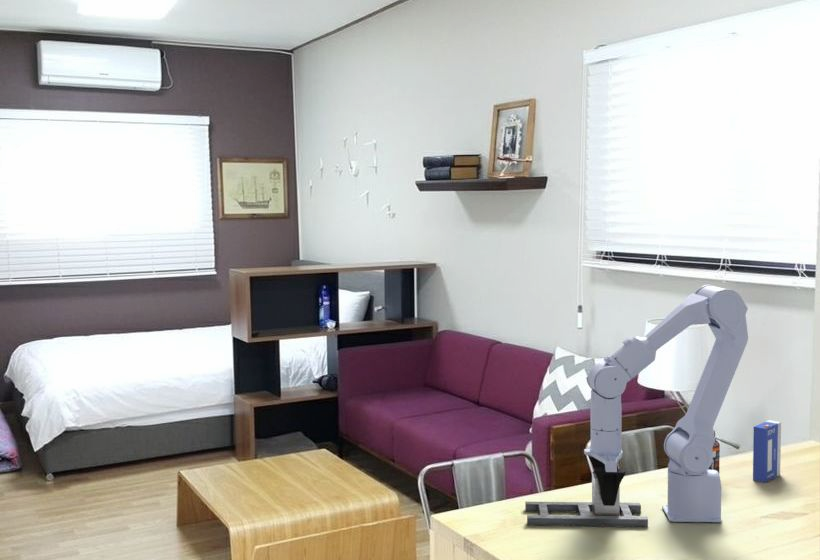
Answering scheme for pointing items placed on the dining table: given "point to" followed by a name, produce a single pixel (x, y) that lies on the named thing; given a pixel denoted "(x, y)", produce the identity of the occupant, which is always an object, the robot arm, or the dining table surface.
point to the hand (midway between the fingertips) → (606, 498)
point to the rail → (582, 515)
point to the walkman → (766, 451)
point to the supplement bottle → (715, 456)
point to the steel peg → (597, 503)
